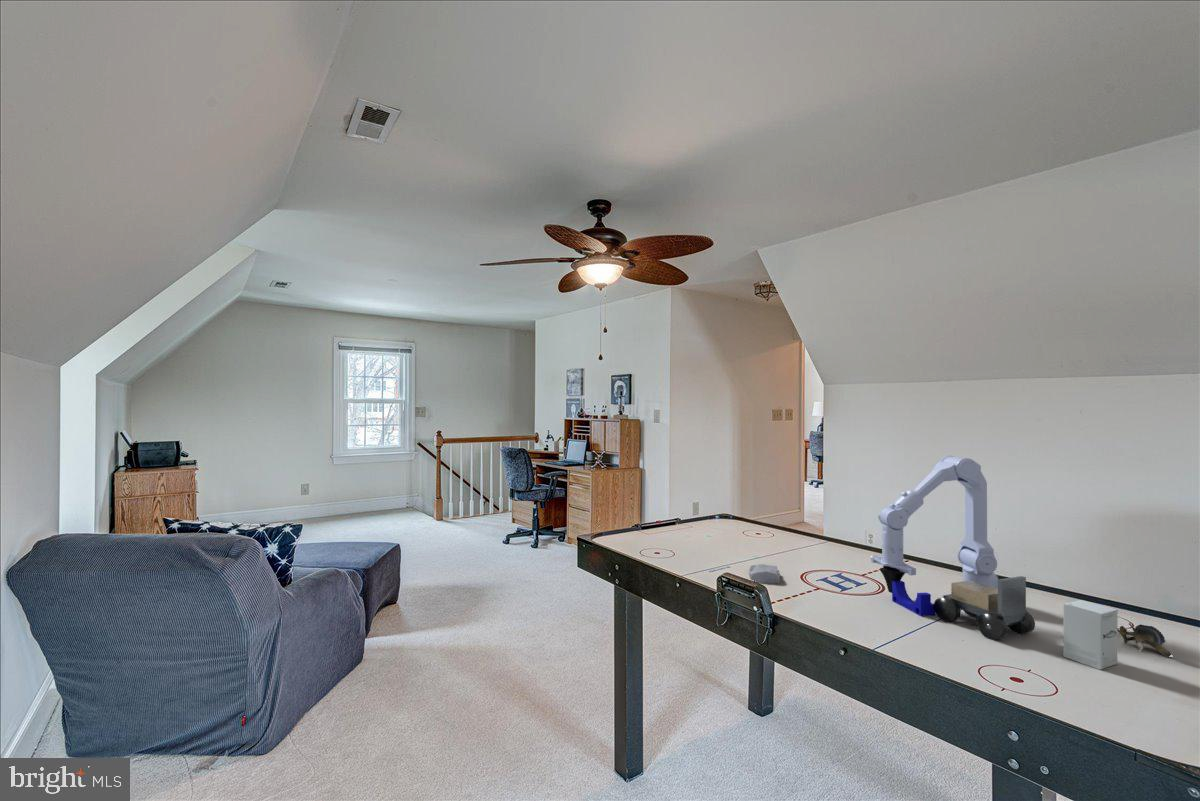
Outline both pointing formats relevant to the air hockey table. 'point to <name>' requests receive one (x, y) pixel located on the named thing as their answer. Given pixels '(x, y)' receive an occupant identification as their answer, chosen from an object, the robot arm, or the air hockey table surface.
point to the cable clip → (920, 605)
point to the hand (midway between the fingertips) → (892, 592)
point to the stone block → (764, 573)
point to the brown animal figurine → (1145, 637)
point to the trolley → (989, 606)
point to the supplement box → (1090, 634)
